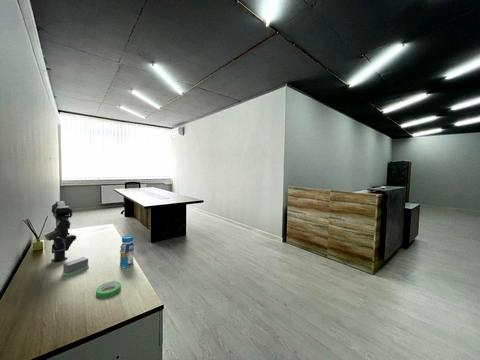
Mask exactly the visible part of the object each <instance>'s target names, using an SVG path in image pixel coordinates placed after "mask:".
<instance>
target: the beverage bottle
mask: <svg viewBox="0 0 480 360" xmlns="http://www.w3.org/2000/svg"><path fill="white" fill-rule="evenodd" d="M133 241H134V236H133V235H124V236H122V237H121V245H120V250H119V253H120V256H119V257H120V260H119V267H120V268H122V269H124V268H126V267H127V268H130V267H132V266H133V265H134V256H135V255H134V254H135V253H134V252H135V244H134V242H133ZM129 266H130V267H129Z"/></svg>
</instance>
